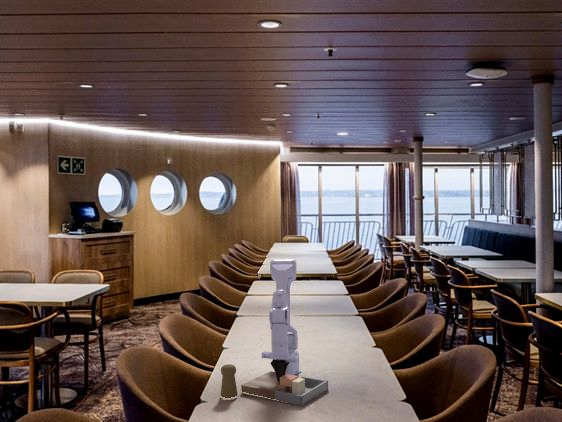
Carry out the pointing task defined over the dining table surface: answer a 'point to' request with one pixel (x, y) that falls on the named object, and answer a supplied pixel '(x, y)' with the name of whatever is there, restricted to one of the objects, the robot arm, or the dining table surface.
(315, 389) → the box
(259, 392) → the tan slab
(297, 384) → the cream tile
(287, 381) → the terracotta tile
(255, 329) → the dining table surface
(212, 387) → the dining table surface
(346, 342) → the dining table surface
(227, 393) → the cork
